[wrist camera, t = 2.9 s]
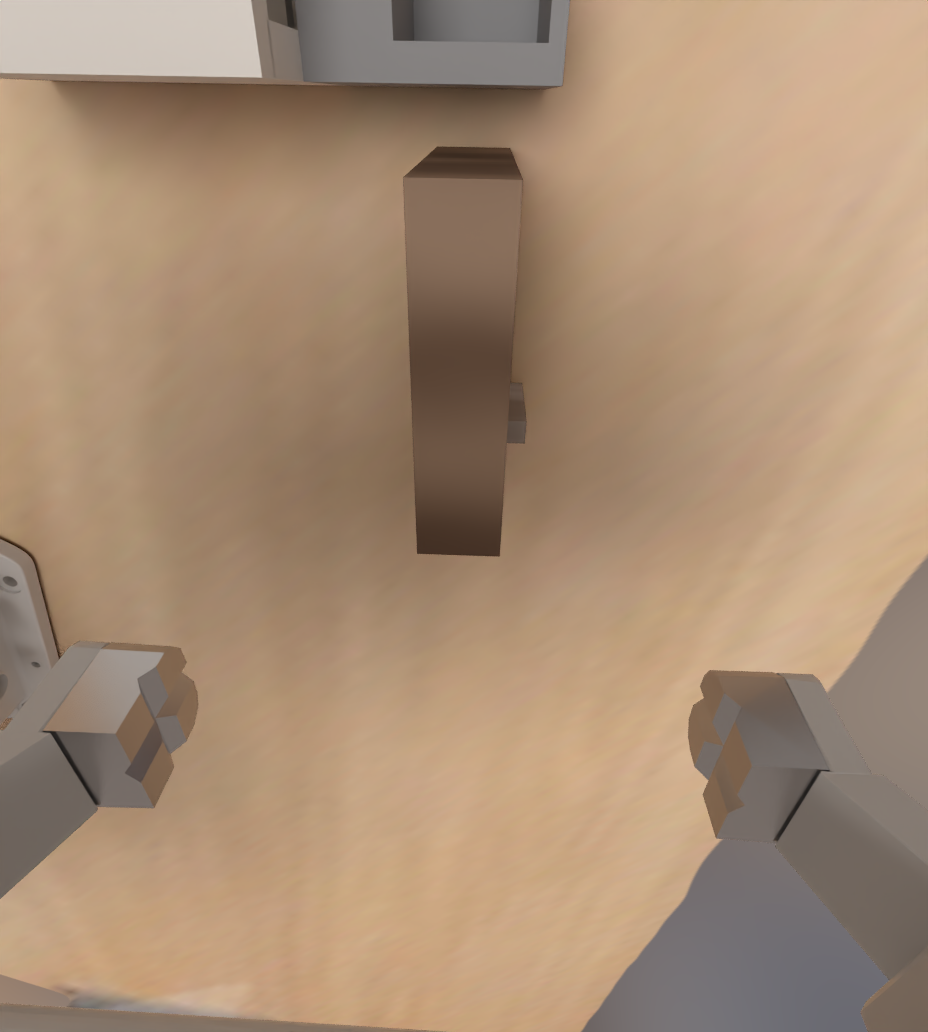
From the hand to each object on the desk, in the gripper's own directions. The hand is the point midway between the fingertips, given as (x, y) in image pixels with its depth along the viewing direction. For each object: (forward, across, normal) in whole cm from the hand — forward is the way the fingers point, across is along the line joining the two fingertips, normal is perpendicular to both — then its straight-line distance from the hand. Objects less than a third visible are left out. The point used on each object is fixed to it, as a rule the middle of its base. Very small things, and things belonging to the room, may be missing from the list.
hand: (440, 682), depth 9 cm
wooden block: (+23, 0, 0) cm, 23 cm away
